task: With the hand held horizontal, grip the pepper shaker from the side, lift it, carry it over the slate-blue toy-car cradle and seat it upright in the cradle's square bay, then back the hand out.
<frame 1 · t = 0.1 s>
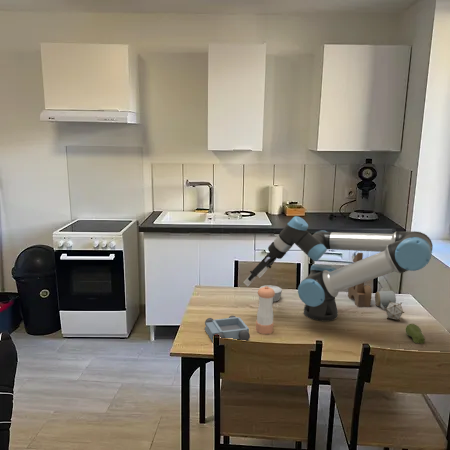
hand: (252, 280, 195), 15 cm above the table, tool tilted 35°, fingers open, 13 cm apart
green toy animal: (414, 339, 176), on the table
grey cylindrical jar: (385, 307, 208), on the table
game die: (393, 319, 194), on the table
wooden toy: (358, 301, 215), on the table
chassis: (230, 333, 176), on the table
pepper shaker: (264, 330, 180), on the table
ramekin: (270, 299, 215), on the table
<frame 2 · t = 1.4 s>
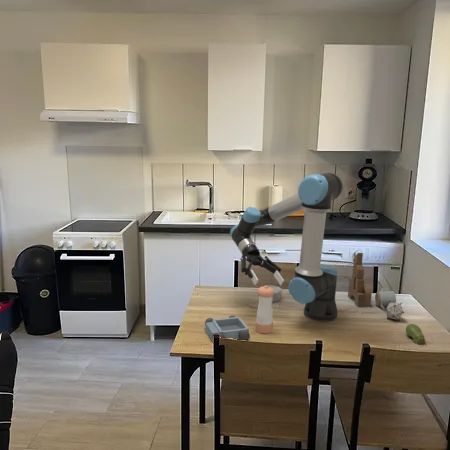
hand: (269, 282, 183), 18 cm above the table, tool tilted 65°, fingers open, 13 cm apart
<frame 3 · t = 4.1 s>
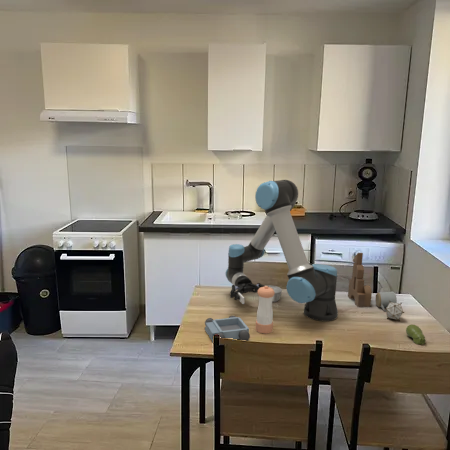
hand: (258, 299, 184), 11 cm above the table, tool horizontal, fingers open, 13 cm apart
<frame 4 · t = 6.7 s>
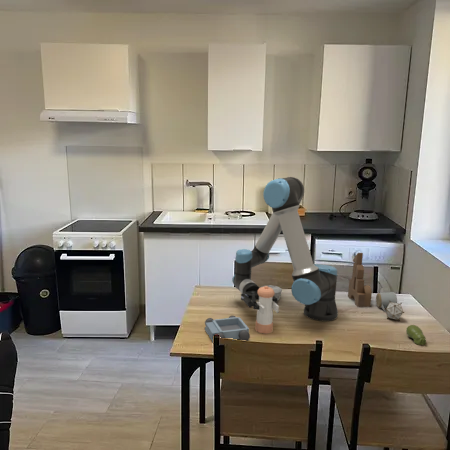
hand: (270, 310, 173), 11 cm above the table, tool horizontal, fingers closed on pepper shaker, 5 cm apart
pepper shaker: (264, 330, 180), on the table, touching gripper
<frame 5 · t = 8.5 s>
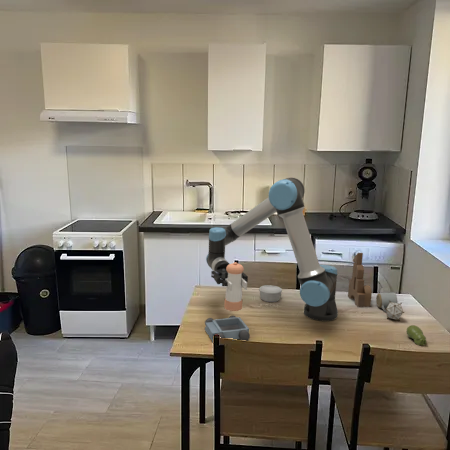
hand: (238, 286, 168), 21 cm above the table, tool horizontal, fingers closed on pepper shaker, 5 cm apart
pepper shaker: (233, 308, 176), point 10 cm above the table, touching gripper
when the fingers open (13 cm above the table, at t = 10.4 s): pepper shaker drops 1 cm, resting on chassis.
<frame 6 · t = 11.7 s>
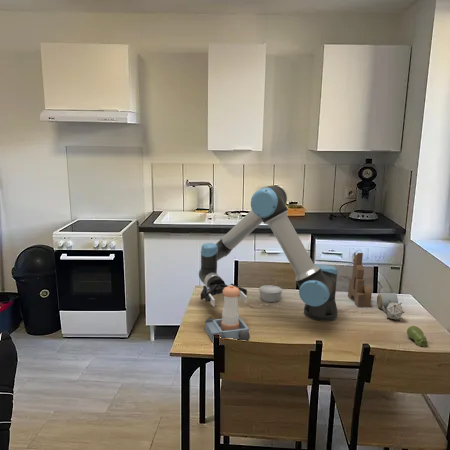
hand: (230, 301, 174), 14 cm above the table, tool horizontal, fingers open, 13 cm apart
pepper shaker: (229, 330, 176), point 1 cm above the table, touching chassis
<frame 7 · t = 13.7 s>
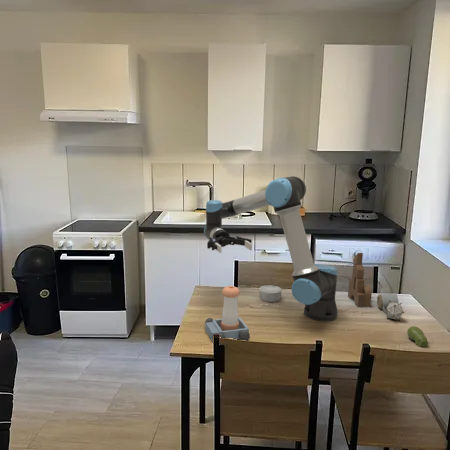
hand: (236, 248, 180), 33 cm above the table, tool horizontal, fingers open, 13 cm apart
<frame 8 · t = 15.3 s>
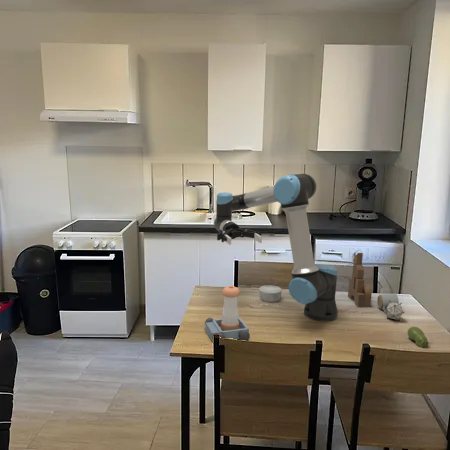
hand: (245, 240, 181), 36 cm above the table, tool horizontal, fingers open, 13 cm apart
at the end: pepper shaker 0.5 cm from the chassis (horizontally); pepper shaker point 1.0 cm above the table; pepper shaker tilted 0° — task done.
